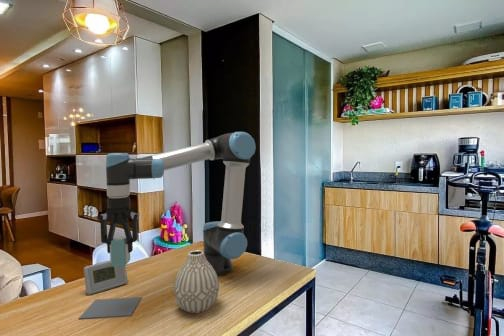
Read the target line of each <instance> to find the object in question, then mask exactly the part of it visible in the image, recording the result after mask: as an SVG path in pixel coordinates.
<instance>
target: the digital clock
mask: <svg viewBox="0 0 504 336" xmlns="http://www.w3.org/2000/svg"><path fill="white" fill-rule="evenodd" d="M126 267H127V266H126V265H125V266H114V267H112V266H111V263H110V260H106V261H101V262H98V263H97V262H96V263H94V264H90V265H86V266H85V267H83V277H84V283H85V284H84V285H85V291H86V294H87V295H89V296H90V295H93V294H98V293H101V292H105V291H108V290H112V289H115V288H119V287H120V286H123V285H126V284H127V283H128V281H129V280H128V279H129V278H128V274H127V269H126Z"/></svg>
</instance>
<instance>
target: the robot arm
mask: <svg viewBox="0 0 504 336" xmlns="http://www.w3.org/2000/svg"><path fill="white" fill-rule="evenodd" d="M256 149H257V148H256V142H255V139H254V138H253V137H252V135H250V134H249V133H248V132H245V131H235V132H228V133H224V134H222V135H219V136H217V137H213V138H210V139H206V140H205V142H203V143H198V144H194V145H190V146H187V147H182V148H178V149H173V150H170V151H165V152H160V153H156V154H152V155H149V156H143V157H137V158H131V157H130V155H129V153H125V152H124V153H121V152H119V153H118V152H115V153H114V152H112V153H108V154H106V159H105V160H106V161H105V172H106V173H105V174H106V177H105V179H106V196H107V199H106V205H107V206H106V208H107V210H106V211H105V213H102V214H100V215H98V219H99V222H100V239H101V240H100V241H101V243H103V244H106V248H107V249H106V250H107V253H108V254H109V257H110V259H109V261H110V263H111V241H112V240H113V239H114V237H115V233H116V232H115V231H116V227H117V224H118V223H119V224H121V226H122V227H123V231H124V235H125V237H126V239H127V243H126V244H125V255H126V262H128V263H129V262H130V260H131V253H132V252H133V247H134V246H133V243H135V242H137V241H138V239H139V223H138V222H139V217H140V213H139V212H133V210H132V209H131V197H130V195H131V184H130V182H131V180H142V179H143V180H144V179H145V180H146V179H152V180H153V179H154V180H155V179H161V178H163V176H164V173H165V171H169V170H171V169H172V170H173V169H176V168H179V167H184V166H187V165H190V164H194V163H198V162H203V161H206V160H210V161H216V160H222V162H223V164H224V165H225V172H224V173H225V174H224V186H223V198H222V207H221V208H222V210H221V218H220V219H221V220H220V221H210V222H206V223H204V224H203V226H202V227H203V228H202V229H203V230H202V232H203V233H202V236H203V238H202V239H203V240H202V241H203V252H204V254H205V257H206V259H207V261H208V262H209V263H210V264H211V265H212V267H213V268H214V270H215V272H216V274H217V277H221V276H225V275H228V274H230V273H231V272H232V271H233V262H232V260H236V259H238V258H240V257H241V256H242V255H243V254H245V252H246V251H247V247H248V239H247V237H246V236H245V234H244V229H245V227H244V226H245V225H243V224H242V213H243V202H244V201H243V200H244V190H245V189H244V188H245V179H246V176H245V175H246V168H247V167H248V166H249V165H250V161H251V158H252V157H253V155H255V152H256ZM130 217H131V219H132V223H131V224H132V226H131V227H132V229H131V228H130V225H129V223H130V222H129V218H130ZM108 219H109V220H110V223H109V231H108V226H107V225H108V223H107V220H108ZM131 230H132V232H131Z"/></svg>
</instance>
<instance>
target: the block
mask: <svg viewBox="0 0 504 336" xmlns="http://www.w3.org/2000/svg"><path fill="white" fill-rule="evenodd" d="M126 243H127V239H126V236H125V237H115V238H113V240H112V241H111V266H112V267H114V266H126V265H128V263H129V262H126V255H125V244H126Z"/></svg>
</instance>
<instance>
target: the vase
mask: <svg viewBox="0 0 504 336" xmlns="http://www.w3.org/2000/svg"><path fill="white" fill-rule="evenodd" d="M218 277H219V276H217V274H216V272H215V270H214V268H213V267H212V265H211V264H210V263H209V262H208V261H207V259H206V257H205V254H204V250H201V249H196V250H190V251H189V252H188V253H187V257H186V260H185V261H184V263H183V264H182V265H181V267H180V269H179V271H178V272H177V274H176V277H175V280H174V283H173V284H174V285H173V294H174V299H175V301H176V303H177V304H178V306H179V307H180V309H182V310H184V311H185V312H187V313H190V314H200V313H204V312H205V311H208V310H209V309H210V308H211V307H212V306H213V305H214V304H215V302H216V300H217V298H218V296H219V291H220V282H219V278H218Z"/></svg>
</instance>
